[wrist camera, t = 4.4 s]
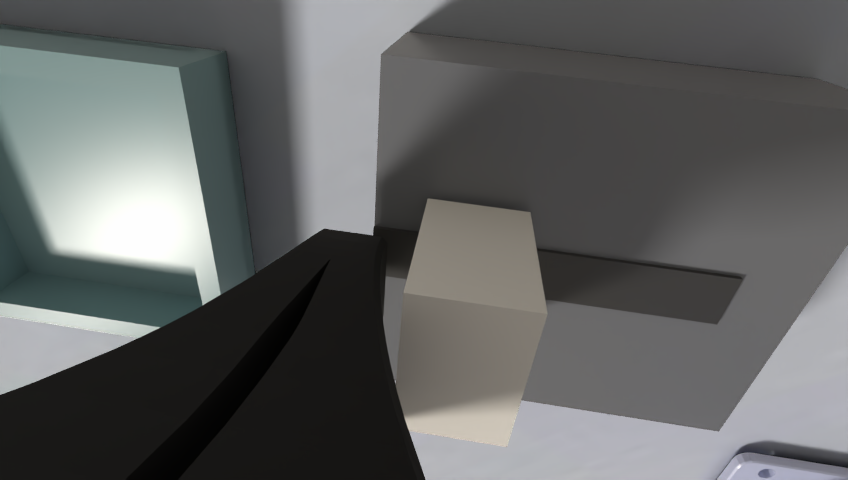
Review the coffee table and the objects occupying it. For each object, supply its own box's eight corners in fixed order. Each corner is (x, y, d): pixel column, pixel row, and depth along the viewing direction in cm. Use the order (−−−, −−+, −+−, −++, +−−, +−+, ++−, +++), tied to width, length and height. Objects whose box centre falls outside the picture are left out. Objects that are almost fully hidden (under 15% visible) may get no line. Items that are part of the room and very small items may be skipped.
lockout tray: (225, 51, 11) (178, 67, 9) (259, 309, 15) (231, 352, 14) (-87, 13, 12) (-187, 22, 10) (31, 274, 16) (-24, 312, 14)
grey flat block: (818, 79, 10) (938, 121, 7) (677, 346, 14) (720, 434, 11) (407, 32, 10) (380, 54, 8) (389, 303, 15) (368, 378, 12)
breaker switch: (530, 211, 9) (547, 313, 6) (502, 327, 10) (506, 446, 8) (427, 198, 9) (403, 292, 6) (415, 314, 10) (392, 427, 8)
